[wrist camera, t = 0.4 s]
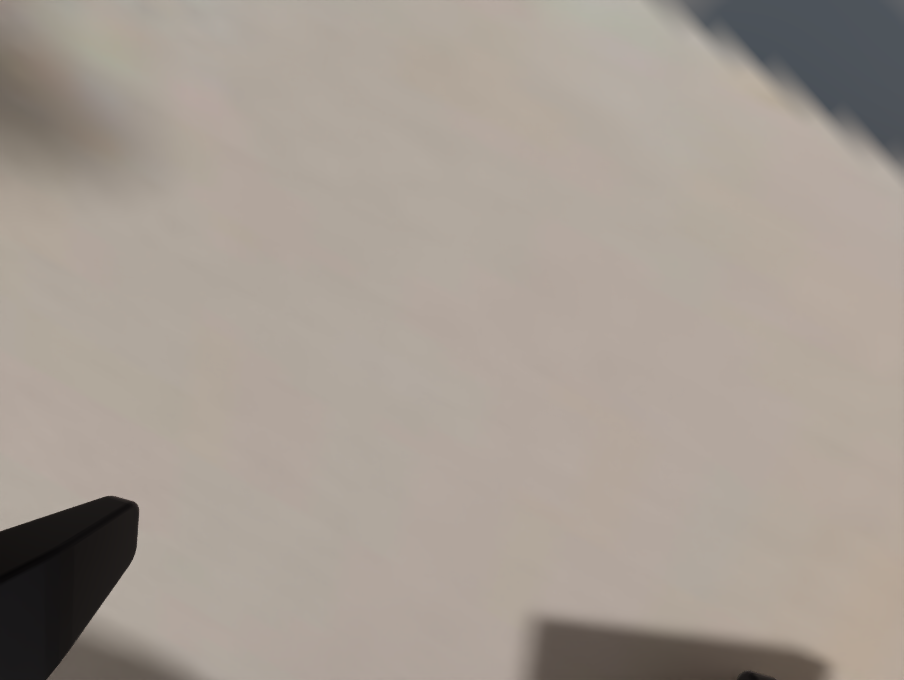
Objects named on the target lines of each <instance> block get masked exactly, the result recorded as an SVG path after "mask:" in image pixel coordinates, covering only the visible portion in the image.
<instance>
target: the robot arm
mask: <svg viewBox="0 0 904 680" xmlns="http://www.w3.org/2000/svg"><path fill="white" fill-rule="evenodd" d="M138 521H139V507H138V505H137V504H136V503H135V502H133V501H130V500H127V499H123V498H119V497H116V496H106V497H102V498H99V499H96V500H93V501H90V502H87V503H84V504H81V505H78V506H75V507H72V508H69V509H66V510H63V511H60V512H57V513H54V514H51V515H48V516H45V517H42V518H39V519H36V520H33V521H30V522H27V523H24V524H21V525H18V526H15V527H12V528H9V529H6V530H3V531H0V680H46V679H47V678H48V677H49V676H50V674H51V673H52V672H53V671H54V669H55V668H56V667H57V666H58V665H59V663H60V662H61V661H62V659H63V658H64V657H65V655H66V654H67V653H68V651H69V650H70V649H71V647H72V646H73V644H74V643H75V642H76V640H77V639H78V637H79V636H80V634H81V633H82V632H83V630H84V629H85V627H86V626H87V625H88V623H89V622H90V620H91V619H92V617H93V616H94V615H95V613H96V612H97V610H98V609H99V608H100V606H101V605H102V603H103V602H104V601H105V599H106V598H107V596H108V595H109V593H110V592H111V591H112V589H113V588H114V586H115V585H116V584H117V582H118V581H119V579H120V578H121V576H122V575H123V574H124V572H125V571H126V569H127V568H128V567H129V565H130V563H131V562H132V560H133V557H134V555H135V552H136V548H137V535H138ZM737 680H776V679H775V678H773V677H771V676H767V675H764V674H760V673H756V672H753V671H744V672H742V673H741V674H740V675H739V676H738V678H737Z"/></svg>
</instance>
